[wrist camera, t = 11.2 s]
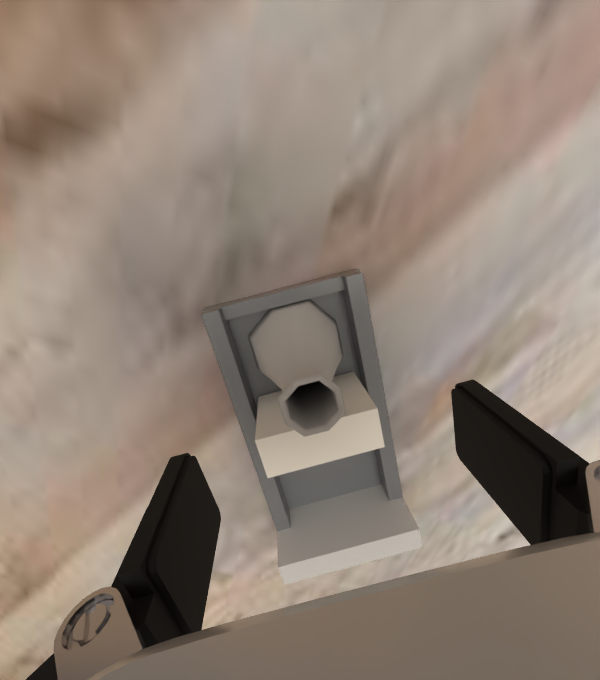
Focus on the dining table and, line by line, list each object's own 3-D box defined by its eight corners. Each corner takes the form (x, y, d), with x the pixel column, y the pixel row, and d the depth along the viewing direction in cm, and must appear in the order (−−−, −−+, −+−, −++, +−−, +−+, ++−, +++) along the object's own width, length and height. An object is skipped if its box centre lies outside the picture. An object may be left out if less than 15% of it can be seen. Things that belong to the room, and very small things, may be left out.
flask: (311, 280, 23) (340, 304, 14) (357, 356, 25) (410, 423, 16) (231, 331, 24) (204, 388, 14) (282, 401, 26) (289, 493, 16)
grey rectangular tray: (205, 307, 24) (184, 327, 18) (356, 268, 24) (383, 275, 18) (279, 521, 30) (280, 586, 25) (396, 490, 31) (425, 546, 25)
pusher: (258, 396, 25) (254, 440, 19) (353, 371, 25) (377, 408, 20) (268, 427, 26) (267, 478, 20) (359, 403, 26) (384, 447, 20)
